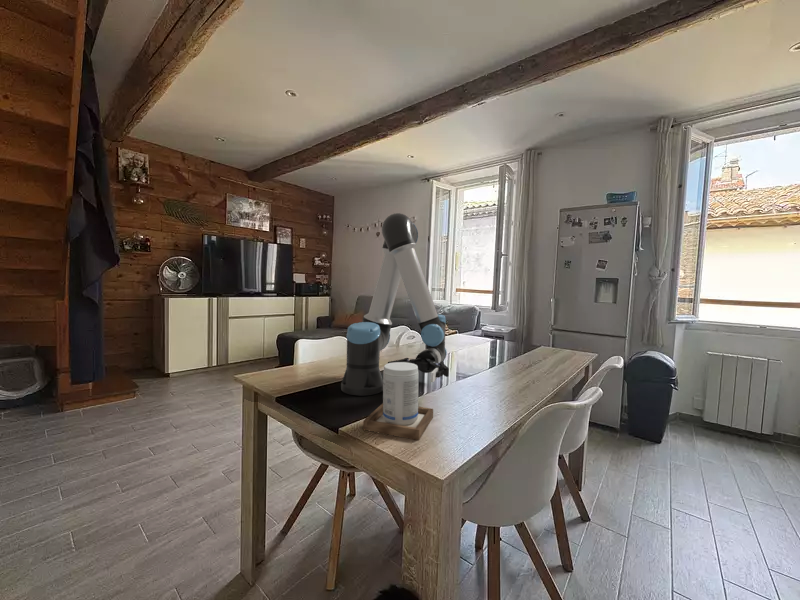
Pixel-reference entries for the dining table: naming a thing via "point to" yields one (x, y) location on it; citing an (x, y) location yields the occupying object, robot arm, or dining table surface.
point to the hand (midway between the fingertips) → (409, 374)
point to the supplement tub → (400, 393)
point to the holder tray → (407, 431)
